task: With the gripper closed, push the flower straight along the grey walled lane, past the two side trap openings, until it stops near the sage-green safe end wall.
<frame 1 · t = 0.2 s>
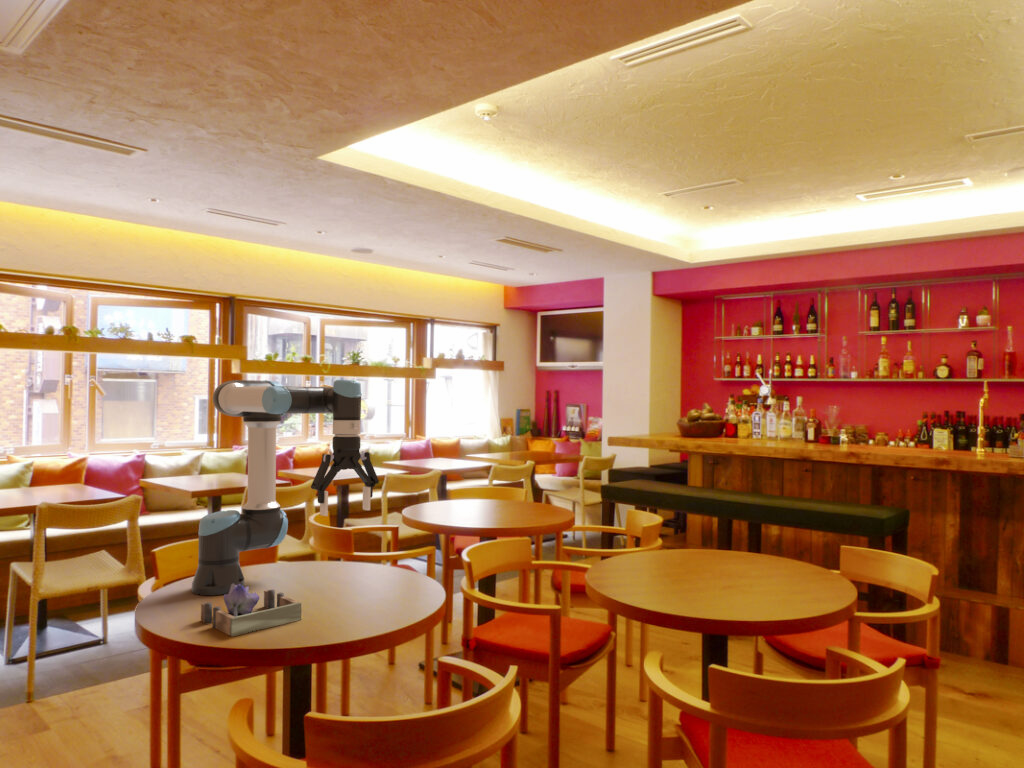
hand: (345, 512, 195), 28 cm above the table, tool pointing down, fingers open, 13 cm apart
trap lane: (251, 620, 188), on the table
flower: (240, 616, 192), on the table
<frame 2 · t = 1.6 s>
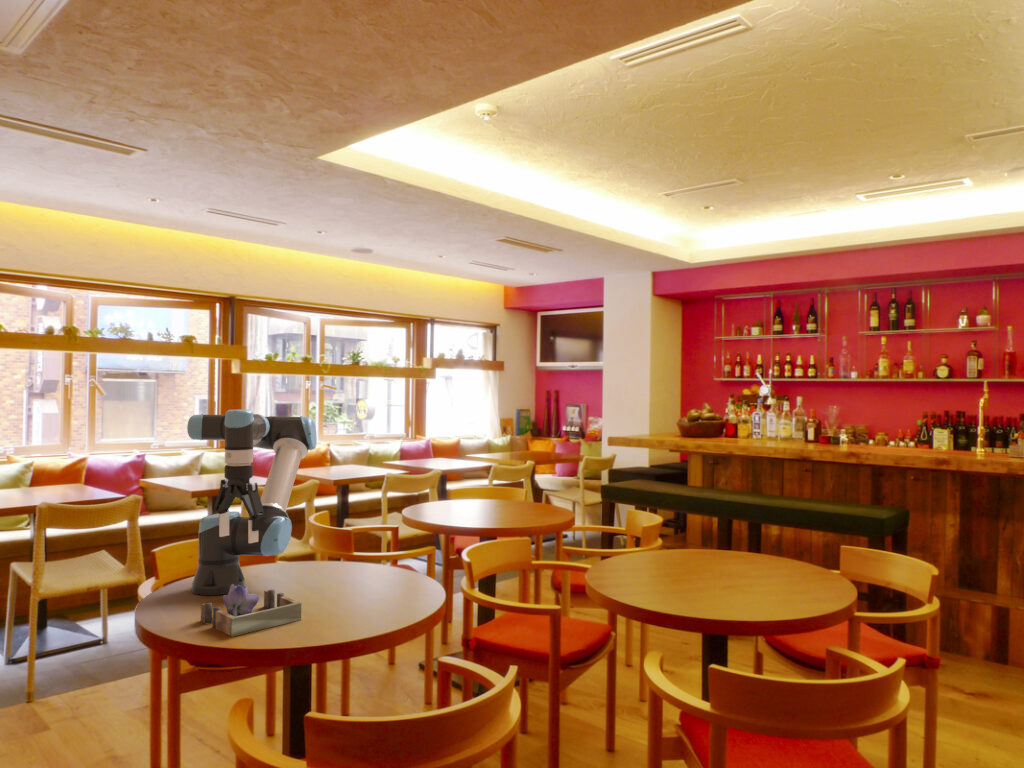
hand: (238, 539, 200), 19 cm above the table, tool pointing down, fingers open, 13 cm apart
nothing on the table moved.
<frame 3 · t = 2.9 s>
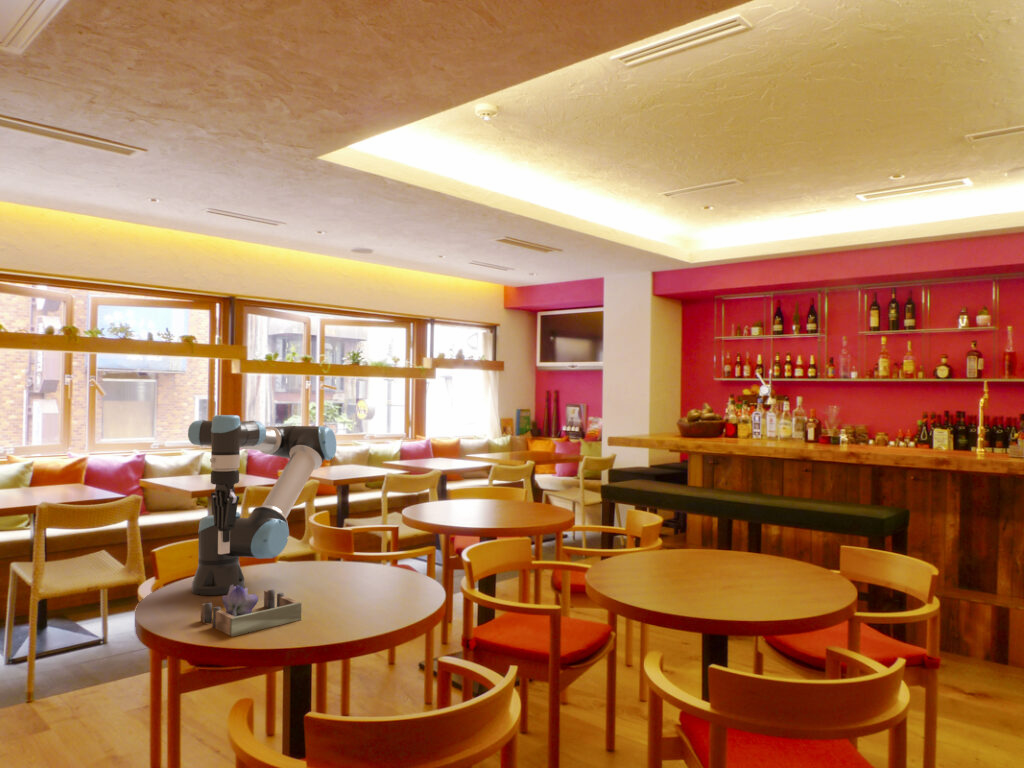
hand: (223, 553, 200), 15 cm above the table, tool pointing down, fingers closed
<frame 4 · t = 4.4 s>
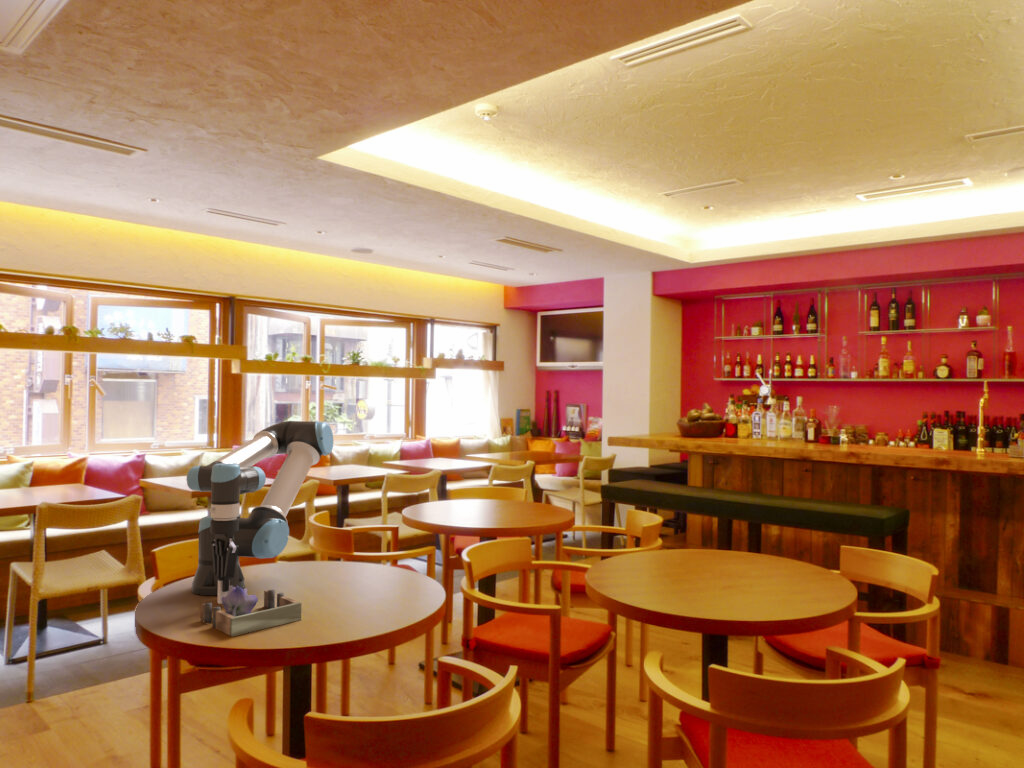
hand: (223, 602, 199), 2 cm above the table, tool pointing down, fingers closed
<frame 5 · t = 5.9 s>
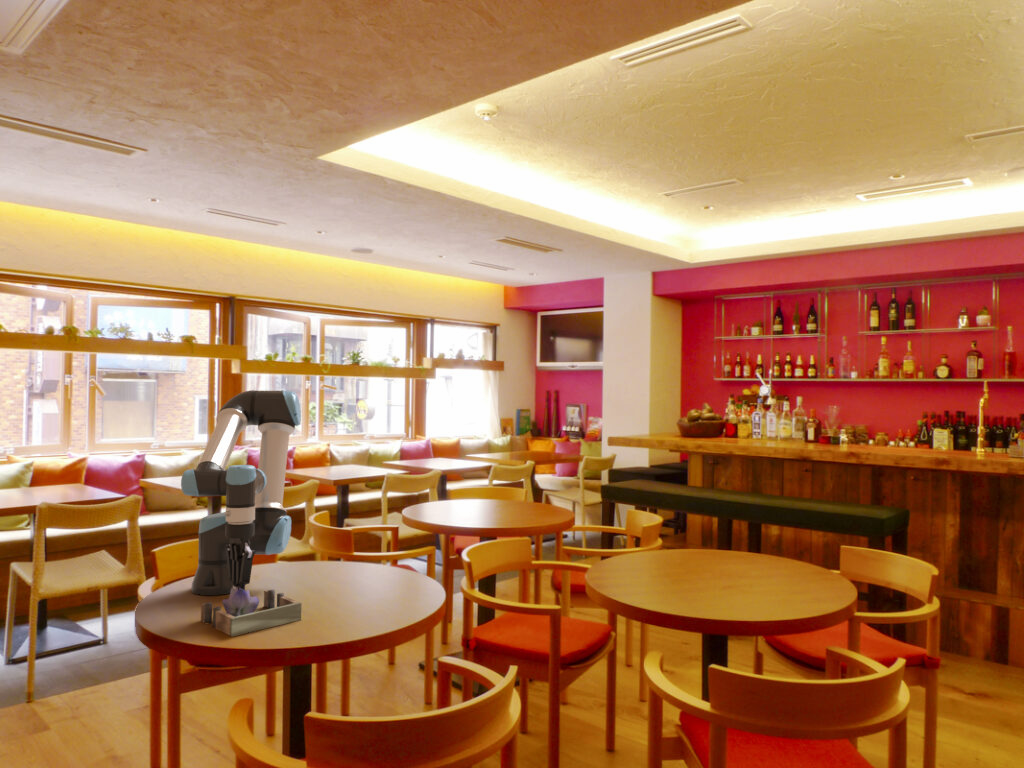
hand: (238, 608, 193), 2 cm above the table, tool pointing down, fingers closed
flower: (241, 621, 188), on the table, touching gripper
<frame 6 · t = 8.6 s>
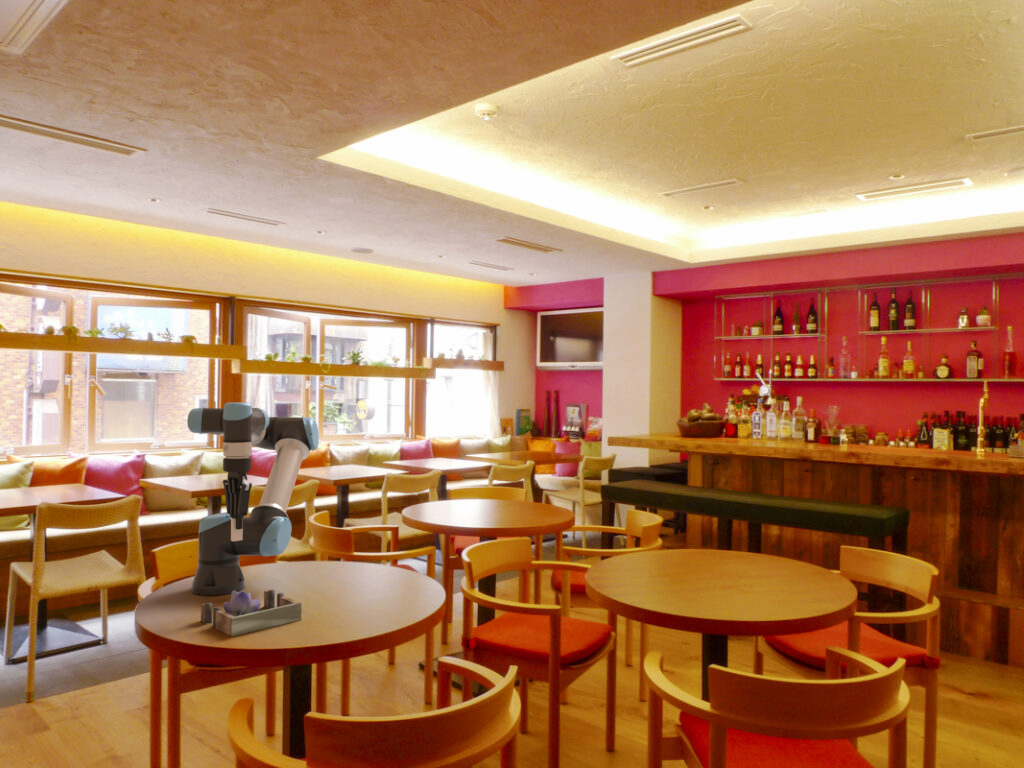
hand: (236, 540, 200), 19 cm above the table, tool pointing down, fingers closed
flower: (242, 624, 186), on the table
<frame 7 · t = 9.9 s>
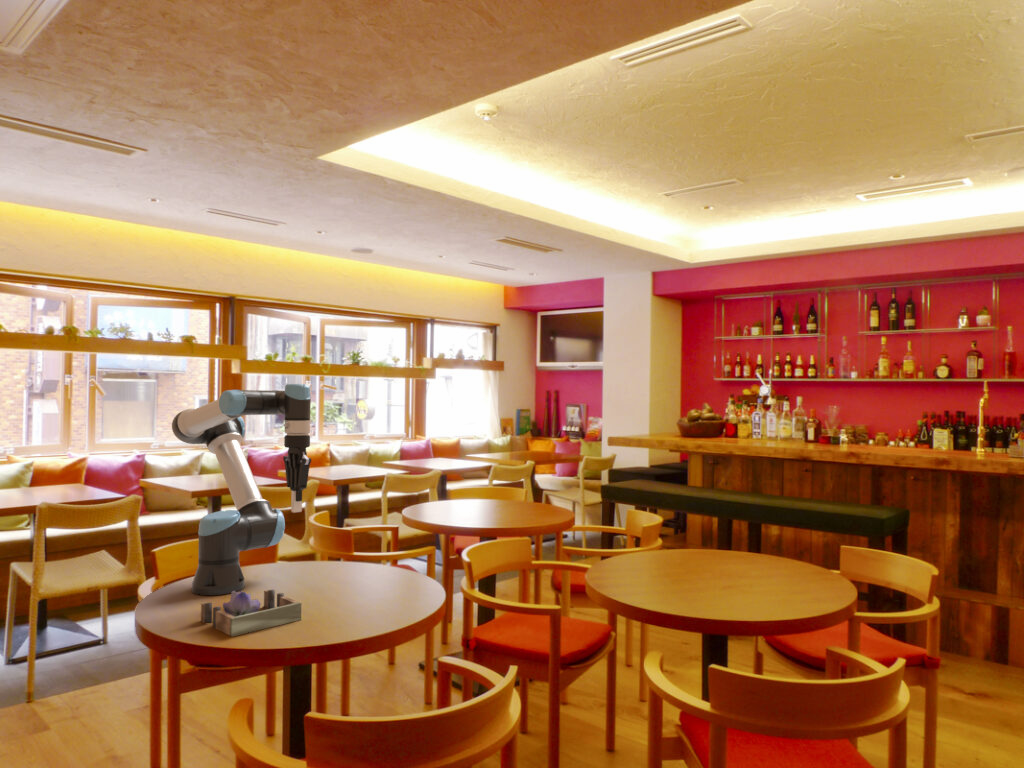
hand: (296, 511, 216), 25 cm above the table, tool pointing down, fingers closed
nothing on the table moved.
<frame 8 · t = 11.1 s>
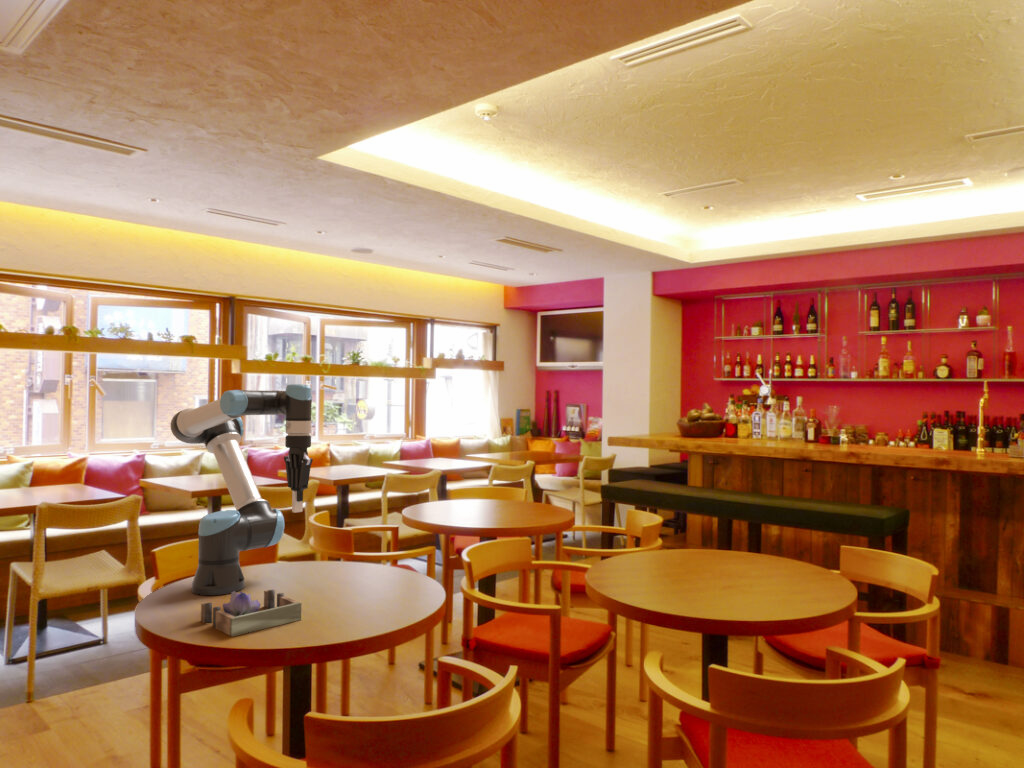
hand: (297, 511, 216), 24 cm above the table, tool pointing down, fingers closed
at the end: flower inside the target area (3.4 cm from its centre), on the table; flower tilted 0°; the gripper is holding nothing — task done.
